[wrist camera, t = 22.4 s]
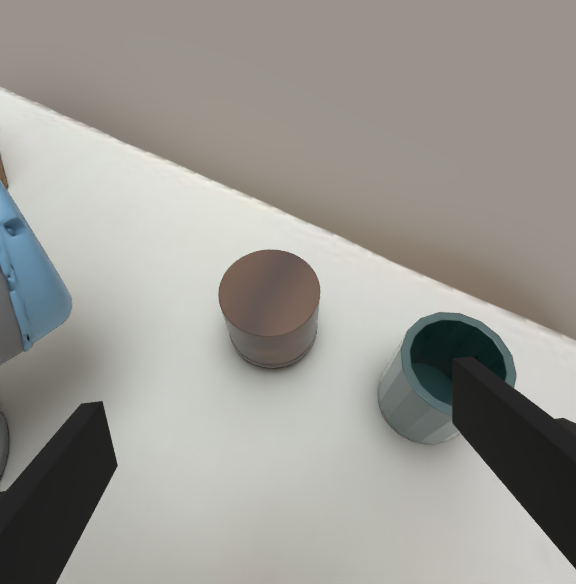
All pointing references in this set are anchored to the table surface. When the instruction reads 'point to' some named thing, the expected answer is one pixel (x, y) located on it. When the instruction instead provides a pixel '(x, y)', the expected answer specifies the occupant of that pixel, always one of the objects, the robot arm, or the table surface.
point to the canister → (436, 373)
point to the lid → (270, 307)
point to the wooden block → (2, 175)
